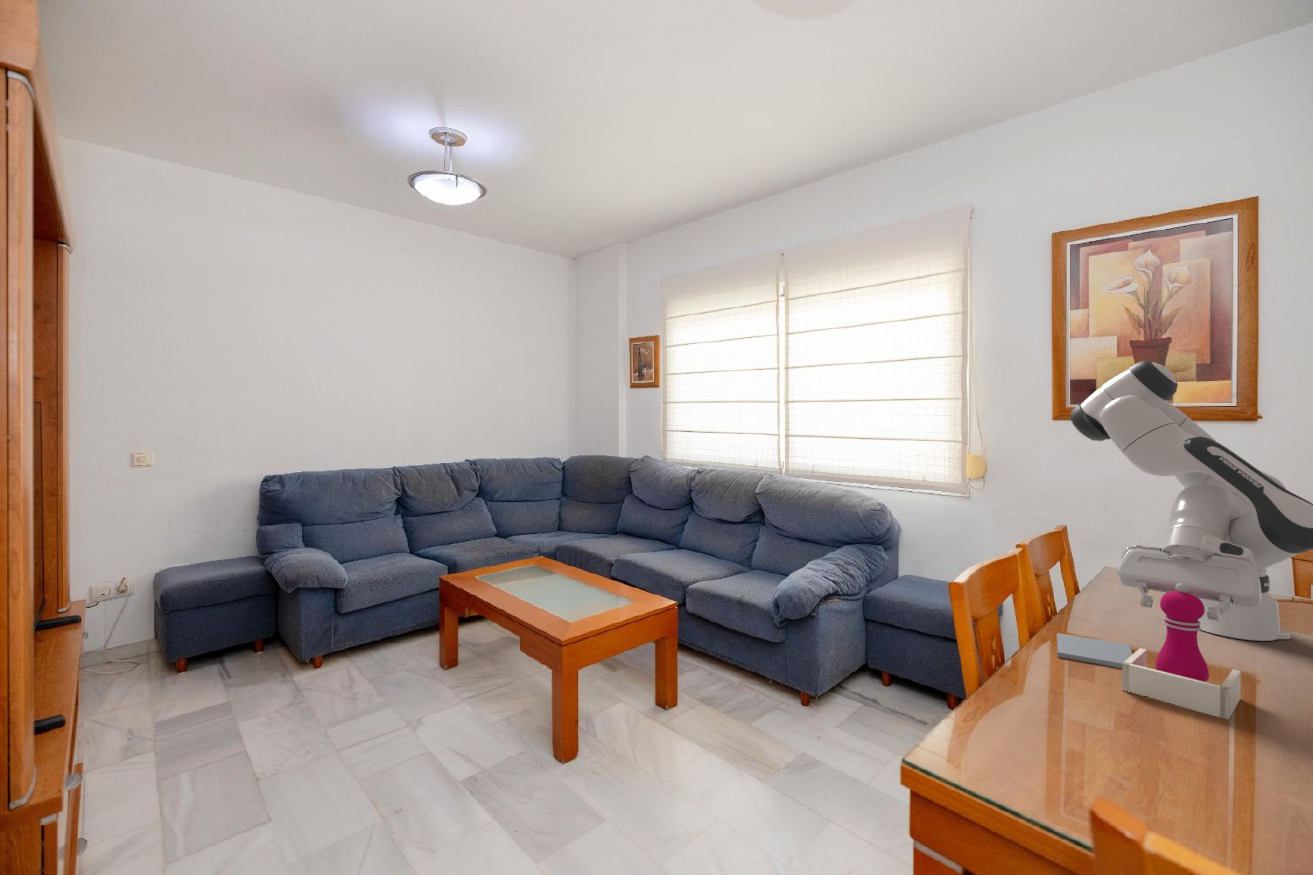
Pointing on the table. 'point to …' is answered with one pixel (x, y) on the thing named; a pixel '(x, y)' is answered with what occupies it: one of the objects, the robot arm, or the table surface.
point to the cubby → (1181, 687)
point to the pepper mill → (1182, 635)
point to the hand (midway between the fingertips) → (1178, 611)
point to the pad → (1092, 650)
